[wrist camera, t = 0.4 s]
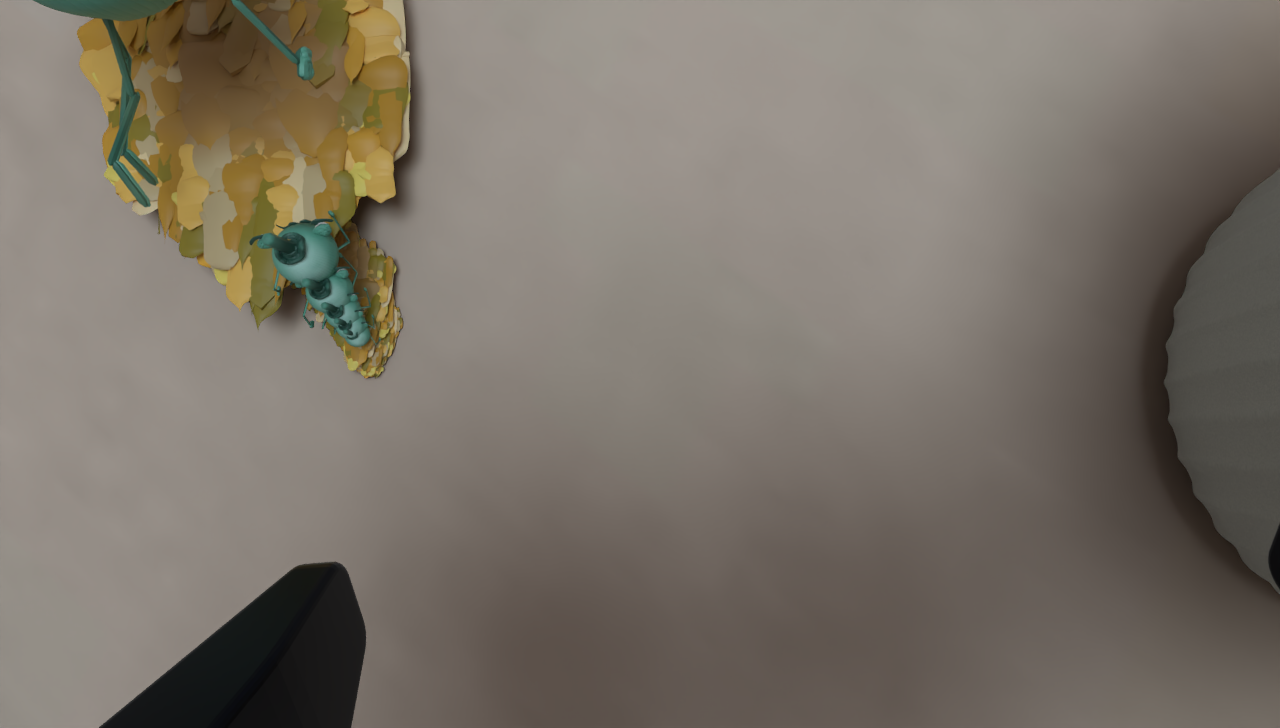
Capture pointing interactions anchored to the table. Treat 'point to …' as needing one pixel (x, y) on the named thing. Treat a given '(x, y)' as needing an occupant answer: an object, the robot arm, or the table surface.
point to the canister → (1233, 376)
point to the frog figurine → (261, 143)
